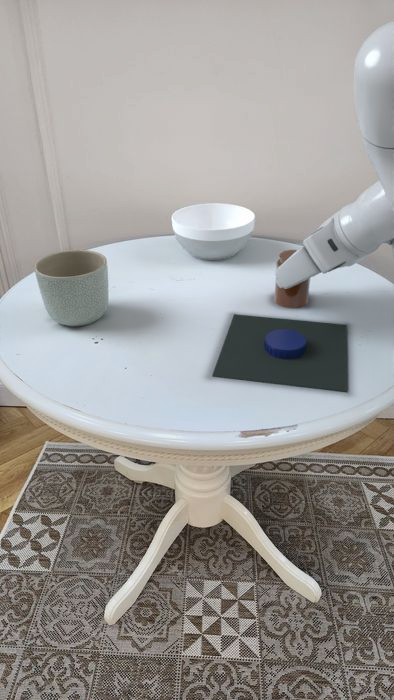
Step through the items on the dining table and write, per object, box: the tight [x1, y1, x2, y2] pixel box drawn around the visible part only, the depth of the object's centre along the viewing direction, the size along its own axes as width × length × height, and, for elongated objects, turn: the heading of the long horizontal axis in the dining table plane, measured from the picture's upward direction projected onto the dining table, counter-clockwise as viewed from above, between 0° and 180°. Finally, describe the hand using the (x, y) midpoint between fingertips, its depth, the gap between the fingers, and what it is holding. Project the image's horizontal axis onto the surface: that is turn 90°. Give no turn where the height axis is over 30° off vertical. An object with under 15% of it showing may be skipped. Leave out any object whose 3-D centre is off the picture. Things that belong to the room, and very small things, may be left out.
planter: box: [34, 249, 110, 328], centre depth 96 cm, size 12×12×11 cm
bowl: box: [171, 202, 256, 261], centre depth 122 cm, size 19×19×9 cm
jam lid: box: [264, 329, 306, 359], centre depth 87 cm, size 7×7×2 cm
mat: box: [212, 313, 348, 393], centre depth 88 cm, size 20×20×1 cm
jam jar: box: [273, 249, 311, 309], centre depth 100 cm, size 6×6×10 cm
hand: (291, 276), depth 100 cm, fingers closed on jam jar, 6 cm apart
